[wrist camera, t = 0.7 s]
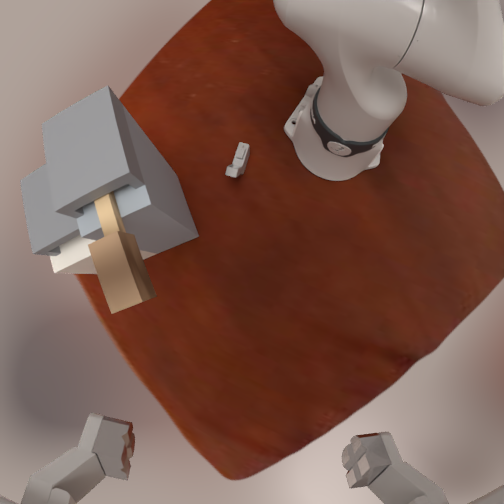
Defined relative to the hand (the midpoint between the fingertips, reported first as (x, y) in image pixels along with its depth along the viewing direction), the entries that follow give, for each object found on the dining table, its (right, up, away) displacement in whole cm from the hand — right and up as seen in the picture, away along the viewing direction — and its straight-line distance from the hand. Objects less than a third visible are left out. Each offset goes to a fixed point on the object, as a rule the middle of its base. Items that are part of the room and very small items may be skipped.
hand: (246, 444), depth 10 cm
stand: (-19, +12, +44) cm, 50 cm away
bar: (-13, +10, +18) cm, 24 cm away
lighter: (-2, +21, +45) cm, 50 cm away
